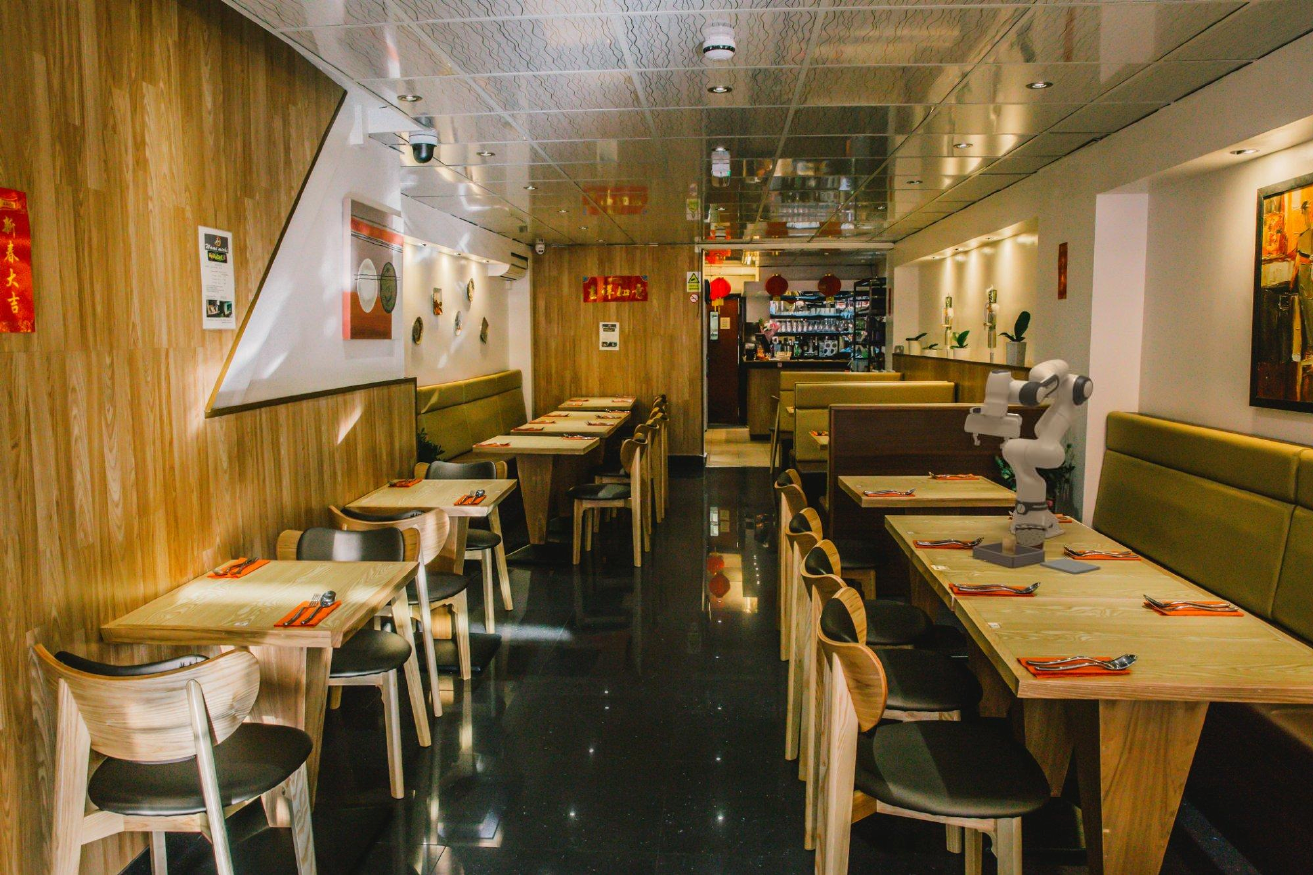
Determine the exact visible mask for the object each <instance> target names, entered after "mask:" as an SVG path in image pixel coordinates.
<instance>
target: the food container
mask: <svg viewBox="0 0 1313 875" xmlns="http://www.w3.org/2000/svg"><path fill="white" fill-rule="evenodd" d="M1013 531H1015V534H1014V535H1015V537H1014V538H1015V539H1016V540H1015V544H1019V545H1023V546H1027V547H1031V548H1036V549H1040V550H1044V547H1045V546H1044V545H1045V540H1046V538H1045V534H1046V532H1048V531H1047V528H1046V526H1044V525H1040V524H1033V523H1019V524H1015V526H1014V529H1013Z"/></svg>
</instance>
